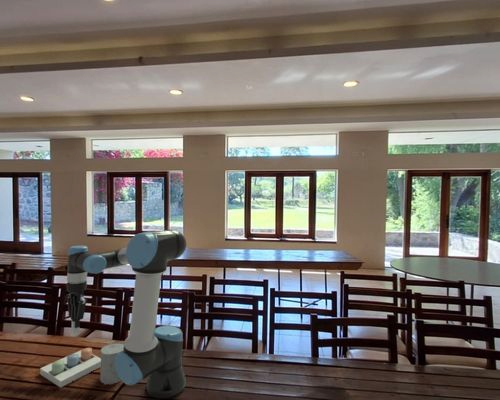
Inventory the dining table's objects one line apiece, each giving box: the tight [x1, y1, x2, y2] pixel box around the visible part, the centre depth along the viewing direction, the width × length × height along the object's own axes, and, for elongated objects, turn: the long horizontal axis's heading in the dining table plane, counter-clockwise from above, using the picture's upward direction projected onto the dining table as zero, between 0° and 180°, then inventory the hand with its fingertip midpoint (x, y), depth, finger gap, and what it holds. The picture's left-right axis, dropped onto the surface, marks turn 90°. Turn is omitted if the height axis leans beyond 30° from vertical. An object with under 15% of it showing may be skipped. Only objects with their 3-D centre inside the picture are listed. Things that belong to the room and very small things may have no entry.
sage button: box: [51, 359, 64, 376], centre depth 121 cm, size 4×4×4 cm
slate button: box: [66, 353, 79, 369], centre depth 126 cm, size 4×4×4 cm
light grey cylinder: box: [99, 342, 124, 385], centre depth 122 cm, size 10×10×12 cm
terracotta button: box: [80, 347, 93, 362], centre depth 131 cm, size 4×4×4 cm
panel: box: [39, 349, 101, 388], centre depth 126 cm, size 16×18×2 cm
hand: (75, 334), depth 128 cm, fingers closed
